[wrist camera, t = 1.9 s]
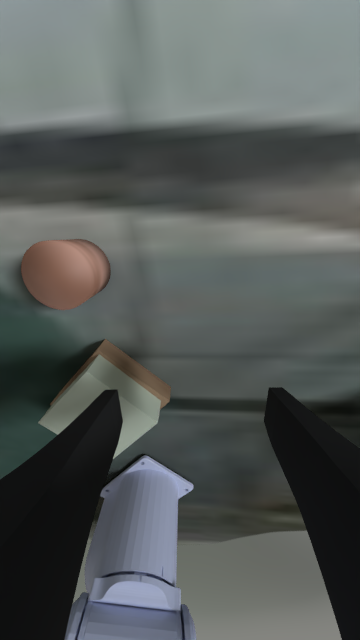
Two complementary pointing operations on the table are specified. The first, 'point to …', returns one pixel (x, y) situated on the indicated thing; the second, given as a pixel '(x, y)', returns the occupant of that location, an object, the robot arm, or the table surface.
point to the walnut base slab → (126, 372)
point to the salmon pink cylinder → (65, 272)
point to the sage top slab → (96, 378)
